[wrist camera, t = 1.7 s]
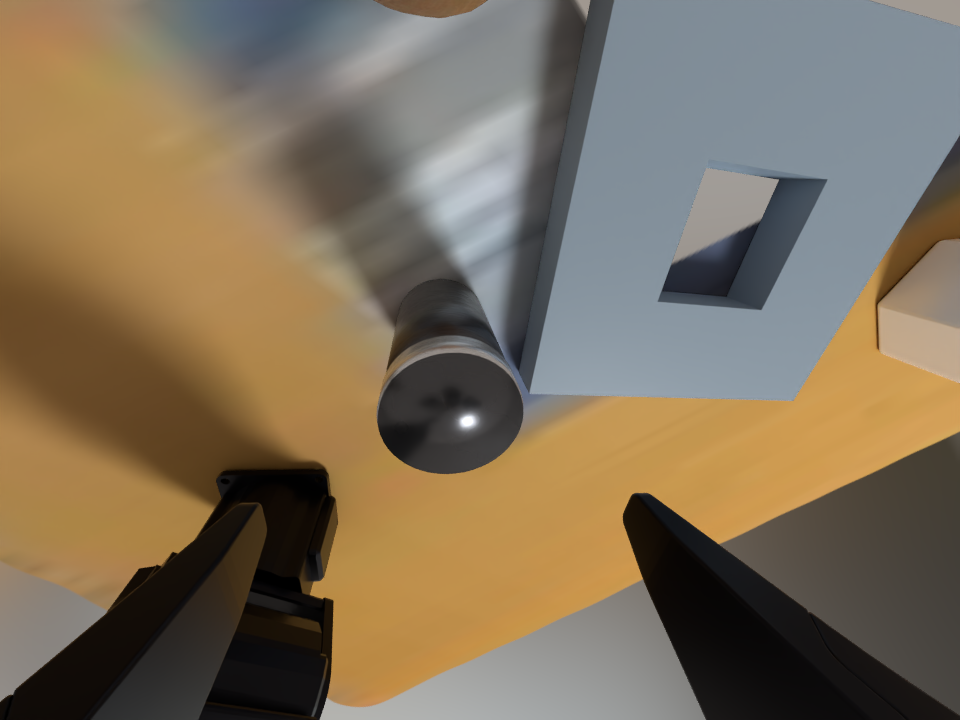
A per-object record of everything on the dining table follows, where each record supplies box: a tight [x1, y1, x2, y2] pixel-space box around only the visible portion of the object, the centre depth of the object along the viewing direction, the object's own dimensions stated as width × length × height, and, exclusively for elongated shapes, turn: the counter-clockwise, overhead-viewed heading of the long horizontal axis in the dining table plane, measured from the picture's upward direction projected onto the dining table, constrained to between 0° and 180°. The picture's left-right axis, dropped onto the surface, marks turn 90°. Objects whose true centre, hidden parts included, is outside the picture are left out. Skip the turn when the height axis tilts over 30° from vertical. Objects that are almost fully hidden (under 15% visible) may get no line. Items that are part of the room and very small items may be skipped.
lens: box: [377, 279, 523, 474], centre depth 15 cm, size 5×5×9 cm
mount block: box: [519, 0, 960, 401], centre depth 18 cm, size 18×18×2 cm
